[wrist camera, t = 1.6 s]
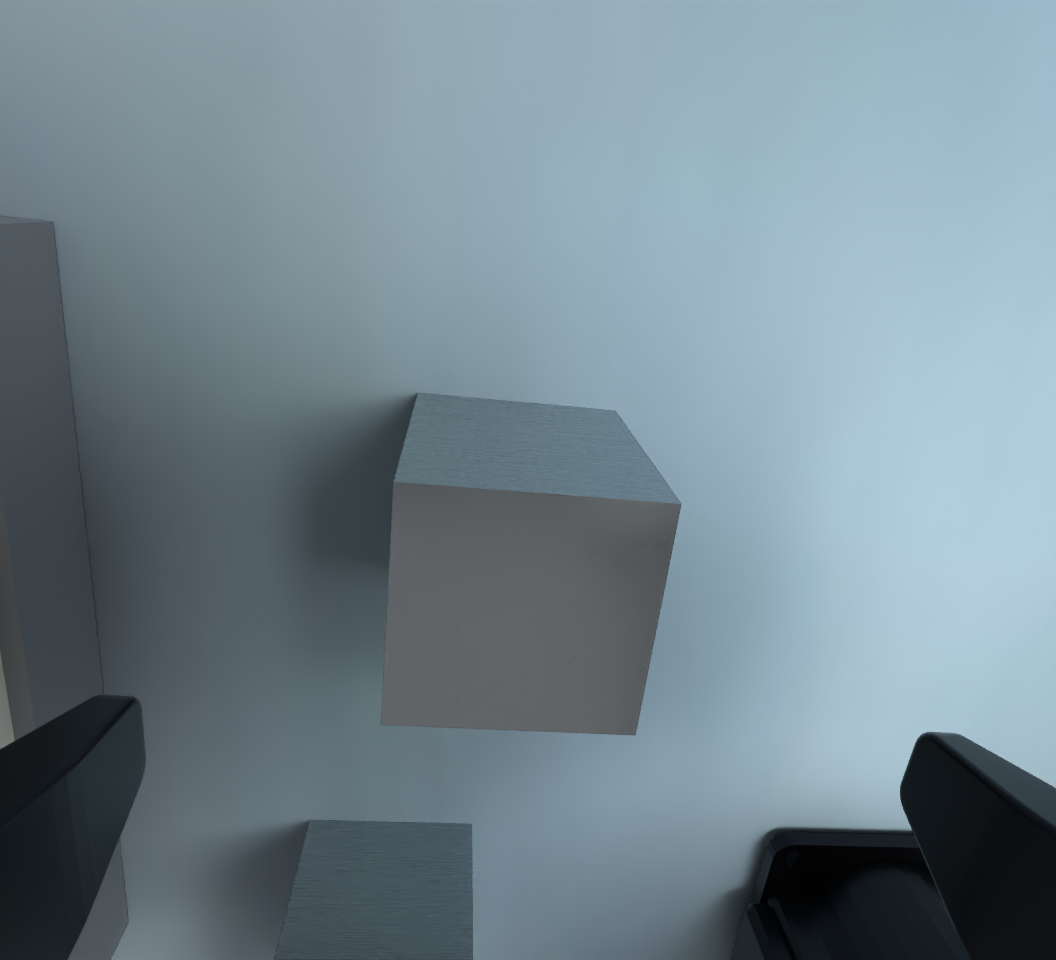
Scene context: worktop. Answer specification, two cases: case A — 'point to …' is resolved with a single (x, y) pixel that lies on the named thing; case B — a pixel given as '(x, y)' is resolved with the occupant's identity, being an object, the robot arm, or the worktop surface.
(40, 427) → the scale
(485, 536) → the block
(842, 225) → the worktop surface
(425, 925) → the block
